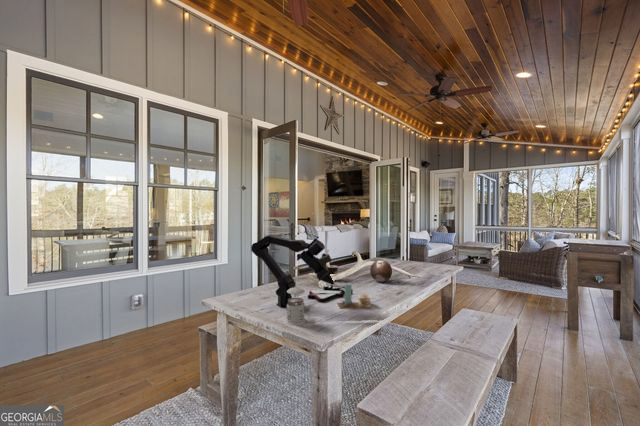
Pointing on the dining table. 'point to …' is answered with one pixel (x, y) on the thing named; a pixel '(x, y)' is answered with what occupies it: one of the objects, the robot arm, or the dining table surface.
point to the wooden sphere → (381, 271)
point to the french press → (295, 311)
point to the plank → (347, 293)
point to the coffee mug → (332, 269)
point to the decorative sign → (327, 293)
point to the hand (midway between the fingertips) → (332, 281)
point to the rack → (357, 303)
